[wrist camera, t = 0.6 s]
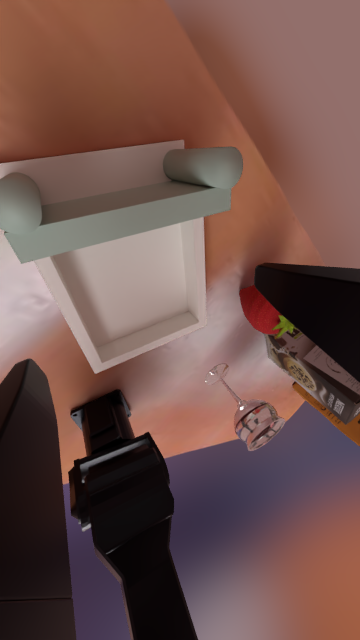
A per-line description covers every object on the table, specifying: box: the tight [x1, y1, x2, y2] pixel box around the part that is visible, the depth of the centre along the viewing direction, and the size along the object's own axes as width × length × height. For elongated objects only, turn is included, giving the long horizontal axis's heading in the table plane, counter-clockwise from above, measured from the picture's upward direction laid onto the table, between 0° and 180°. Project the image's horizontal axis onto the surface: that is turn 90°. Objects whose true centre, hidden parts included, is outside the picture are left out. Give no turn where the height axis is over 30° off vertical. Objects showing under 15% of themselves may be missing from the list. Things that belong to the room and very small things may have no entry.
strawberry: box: [239, 285, 297, 339], centre depth 27 cm, size 6×8×10 cm
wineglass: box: [205, 364, 285, 451], centre depth 35 cm, size 7×7×12 cm
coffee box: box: [265, 326, 360, 425], centre depth 37 cm, size 9×6×16 cm
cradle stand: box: [0, 140, 243, 374], centre depth 19 cm, size 18×13×8 cm
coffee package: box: [293, 382, 360, 446], centre depth 54 cm, size 10×12×22 cm
